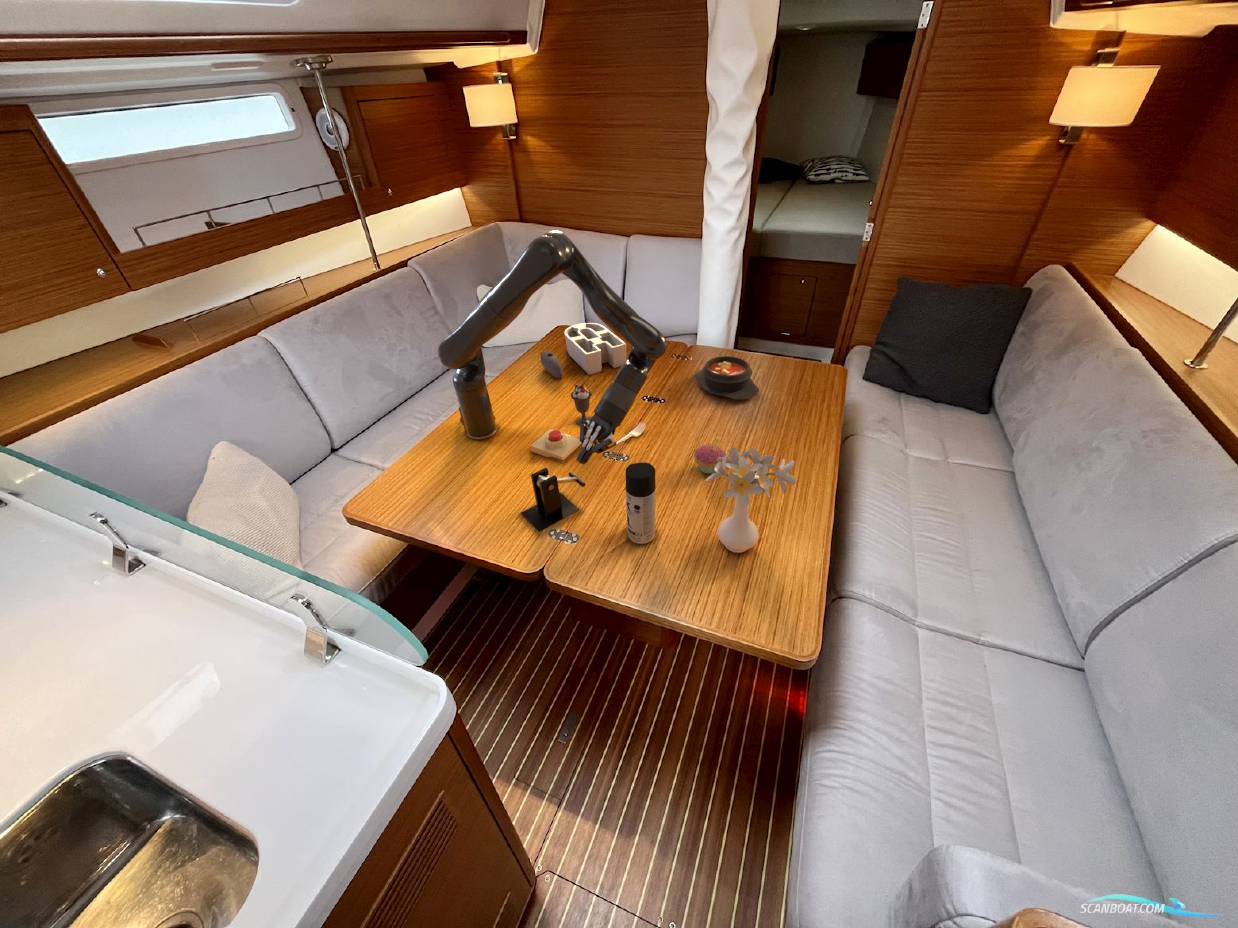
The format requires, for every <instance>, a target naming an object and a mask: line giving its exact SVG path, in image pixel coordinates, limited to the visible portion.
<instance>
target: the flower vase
mask: <svg viewBox="0 0 1238 928" xmlns="http://www.w3.org/2000/svg"><path fill="white" fill-rule="evenodd" d="M725 454H726V455H725V457H720V458H717V462H718V463H717V464H716V466H715V471H716V472H715V473H712V474H709V476H708V477H707V478H706V479H705V482H708V483H709V482H710V481H711V482H712V481H713V480H715V479H719V478H722V477H727V479H728V480H729V482H730V484H732V486H731V487H729V488H728V489H726V490H725V491H724V494H723V495H724V497H725V498H728V499H731V498H734V497H735V501H734V507H733V512H732V513H731V515H730V516H728V517H726V518H724V519H723V520H722V521H721V522H720V523H719V525H718V527H717V531H716V532H717V538H718V539H719V541H720V543H721V544H722V545H723V546H724V547H725V548H726V549H727V550H728V551H730V552H732V553H736V554H737V553H738V554H740V553H744V552H746V551H748V550H750V549H752V548H754V546H755V545H757V543H758V541H759V537H760V533H759V528H758V526H757V525H756V523H754V522H753V520H752V519H750V516H749V515H750V514H749V513H750V512H749V511H750V501H751V496H752V495H754V496H758V495H761V494H763V492H764V493H765V495H766V496H767V498H771V492H770V489H769V488H772V487H774V482H773V480H772V478H770V477H768V476H775V477H776V481H777V482H778V483H779V486H780V489H781V493H782V494H786V492H787V485H790V486H795V485H796V482H797V481H796V478H795V477H794V476H793V475H792V474H791V473H790V472H791V471H792V470H793V469H794V467H795V463H796V462H795V460H790V461H789V462H788V463H787V464H786V460H785V459H784V458H782V459H781V461H780V465H779V466H777V465H775V464H774V463H773V464H772V462H773V461H774V459H775V457H774V456H773V455H772V454H765V455H763V456H761V455H760V452H759V451H757V449H756V448H754V447H750V450H745V451H743V452H742V453H741V454H740V452H739V449H738V448H737V447H735V446H733V447H731V448H730V449H729V451H728V453H727V452H725ZM728 456H729V457H728ZM747 458H748V459H749V460H750V461H751V463H753V464H750V465H749V460H748V459H747ZM721 463H722V464H721ZM768 469H771V470H777V471H776V472H768ZM730 470H731V471H733V472H734V473H732V472H731V473H727V471H730Z"/></svg>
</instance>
